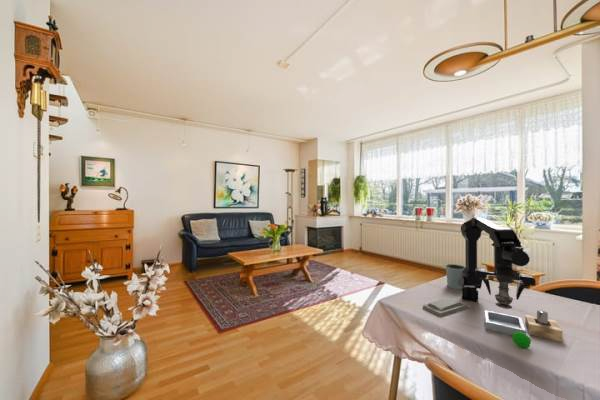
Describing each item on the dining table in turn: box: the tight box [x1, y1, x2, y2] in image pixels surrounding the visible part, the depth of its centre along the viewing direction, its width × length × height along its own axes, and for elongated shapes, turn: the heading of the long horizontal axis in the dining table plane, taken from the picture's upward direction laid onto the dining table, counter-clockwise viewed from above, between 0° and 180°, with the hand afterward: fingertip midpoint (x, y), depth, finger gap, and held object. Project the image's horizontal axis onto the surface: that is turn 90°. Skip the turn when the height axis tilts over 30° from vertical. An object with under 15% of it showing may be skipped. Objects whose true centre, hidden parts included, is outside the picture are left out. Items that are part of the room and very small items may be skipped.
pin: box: [536, 309, 549, 325], centre depth 96 cm, size 3×3×8 cm
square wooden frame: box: [524, 314, 563, 343], centre depth 96 cm, size 9×9×4 cm
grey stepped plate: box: [422, 297, 470, 318], centre depth 118 cm, size 10×20×4 cm, turn 113°
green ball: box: [512, 332, 532, 349], centre depth 88 cm, size 5×5×5 cm
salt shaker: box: [494, 281, 514, 310], centre depth 100 cm, size 6×6×12 cm
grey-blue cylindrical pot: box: [445, 263, 466, 290], centre depth 145 cm, size 10×10×12 cm
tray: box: [484, 309, 527, 336], centre depth 101 cm, size 12×12×3 cm
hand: (503, 296), depth 101 cm, fingers closed on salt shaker, 8 cm apart
